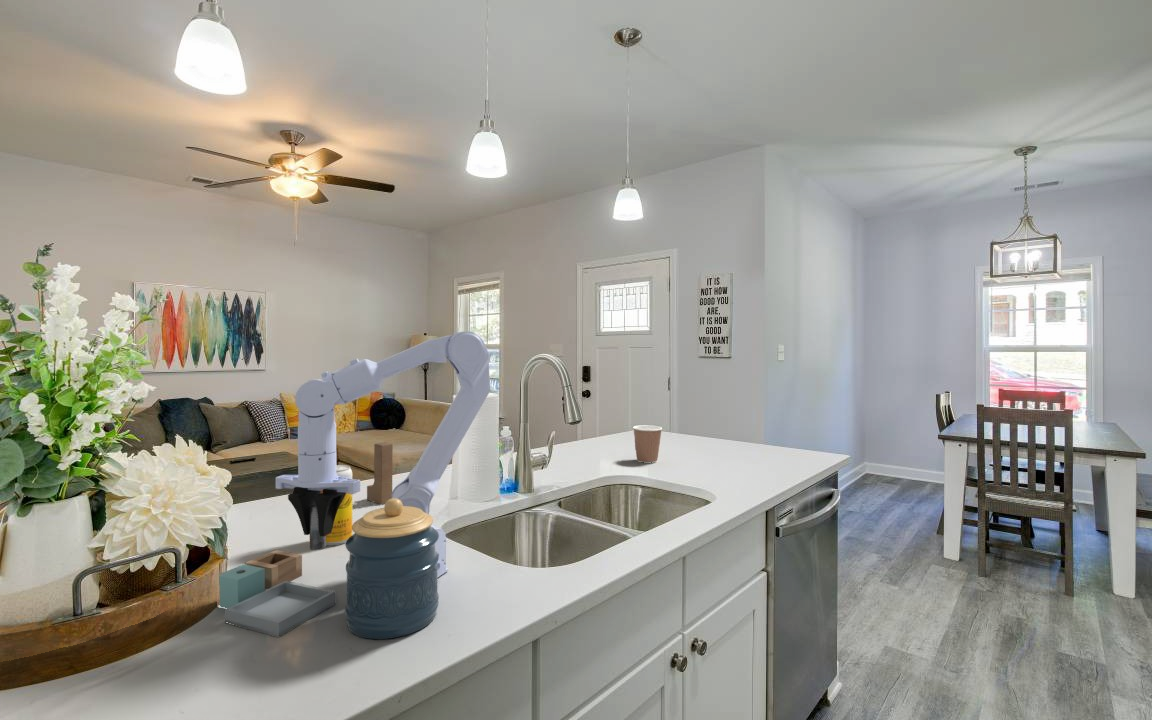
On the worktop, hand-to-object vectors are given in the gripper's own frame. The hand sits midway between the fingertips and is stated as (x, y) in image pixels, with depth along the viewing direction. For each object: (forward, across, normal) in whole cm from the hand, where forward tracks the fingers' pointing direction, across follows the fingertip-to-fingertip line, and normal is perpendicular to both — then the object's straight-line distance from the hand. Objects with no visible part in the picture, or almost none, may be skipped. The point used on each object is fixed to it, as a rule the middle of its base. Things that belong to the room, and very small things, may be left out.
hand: (317, 533), depth 89 cm
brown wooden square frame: (+9, +9, 0) cm, 12 cm away
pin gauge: (+2, 0, 0) cm, 2 cm away
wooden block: (+9, +17, -46) cm, 50 cm away
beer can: (+9, +10, -18) cm, 23 cm away
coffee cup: (+9, -46, -113) cm, 122 cm away
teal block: (+9, +7, +8) cm, 14 cm away
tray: (+9, -1, +9) cm, 13 cm away
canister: (+9, -18, +7) cm, 21 cm away
